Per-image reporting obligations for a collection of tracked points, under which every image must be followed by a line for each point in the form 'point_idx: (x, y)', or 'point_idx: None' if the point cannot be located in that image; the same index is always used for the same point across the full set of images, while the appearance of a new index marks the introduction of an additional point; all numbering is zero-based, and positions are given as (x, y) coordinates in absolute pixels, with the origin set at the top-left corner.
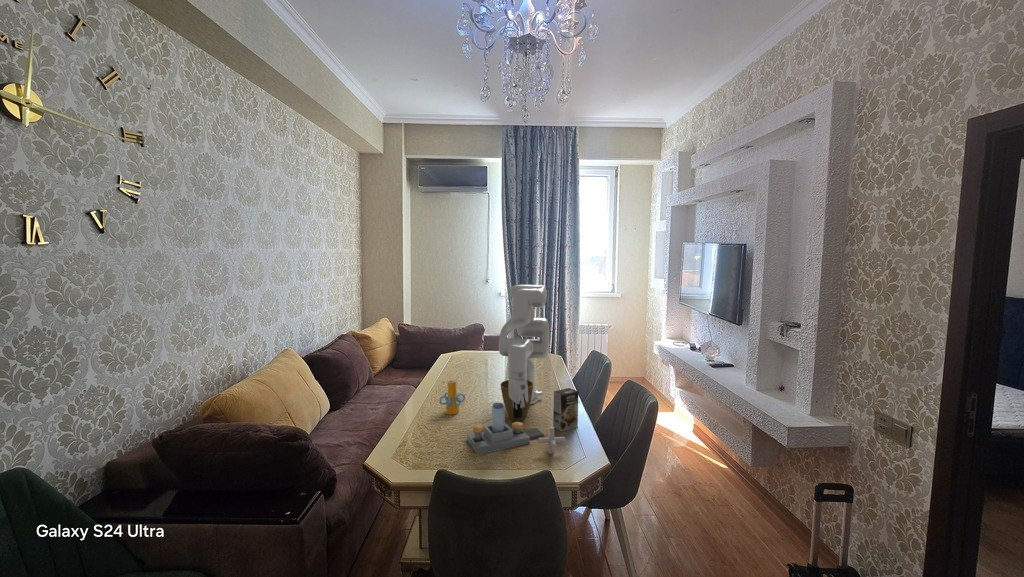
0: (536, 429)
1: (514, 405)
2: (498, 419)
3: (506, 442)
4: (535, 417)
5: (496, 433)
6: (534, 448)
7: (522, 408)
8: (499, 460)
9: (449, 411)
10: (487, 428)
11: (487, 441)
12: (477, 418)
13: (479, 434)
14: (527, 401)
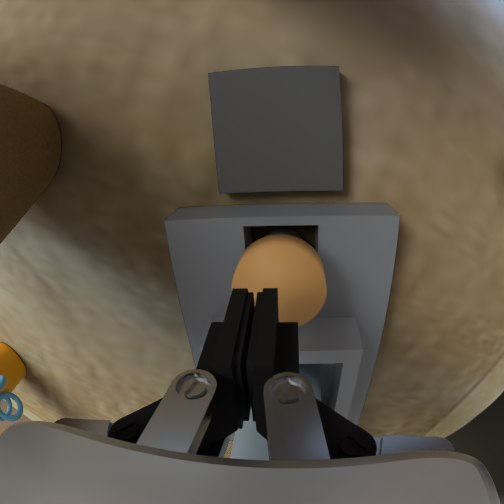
0: (237, 81)
1: (225, 445)
2: None
3: (376, 356)
4: (51, 43)
5: None
6: (449, 209)
7: (16, 146)
8: (436, 379)
9: (21, 379)
10: None
11: None
12: (37, 319)
13: None
14: (486, 482)
